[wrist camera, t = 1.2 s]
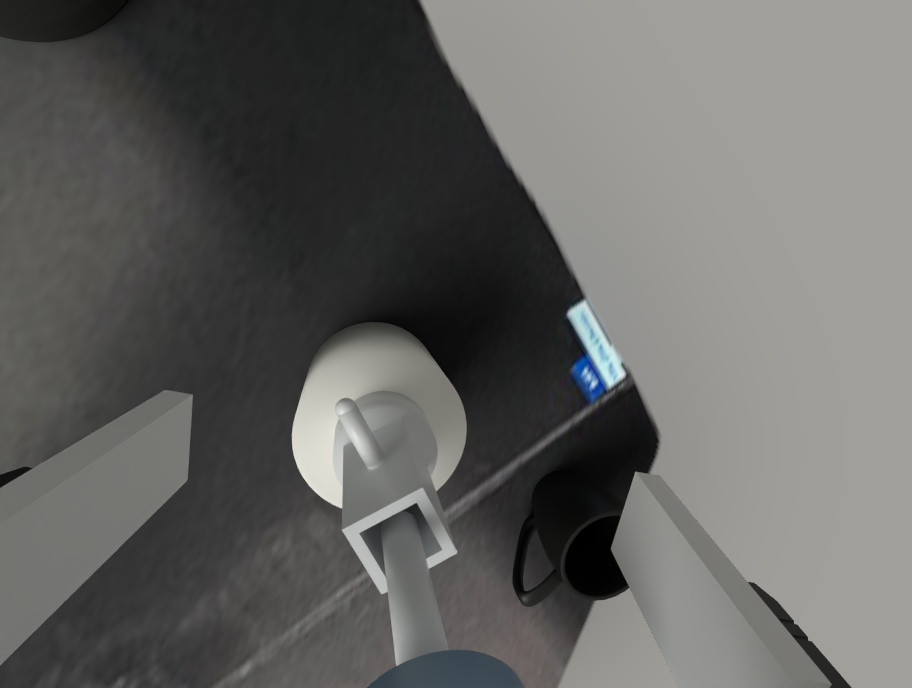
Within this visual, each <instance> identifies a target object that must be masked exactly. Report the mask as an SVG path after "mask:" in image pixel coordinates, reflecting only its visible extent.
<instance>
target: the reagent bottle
mask: <svg viewBox="0 0 912 688" xmlns="http://www.w3.org/2000/svg"><path fill="white" fill-rule="evenodd" d="M466 427H467V426H466V416H465V412H464V408H463V405H462V402H461V399H460V397H459V395H458V393H457V392H456V390H455V388H454V387H453V385H452V384H451V382H450V381H449V380H448V378H447V377H446V375H445V374H444V373H443V371H442V370H441V368H440V367H439V366H438V364H437V363H436V362H435V360H434V359H433V357H432V356H431V355H430V353H429V352H428V350H427V349H426V348H425V346H424V345H423V344H422V343H421V342H420V341H419V340H418V339H417V338H416V337H415V336H414V335H412V334H411V333H410V332H408V331H406V330H404V329H403V328H400V327H398V326H395V325H392V324H388V323H382V322H365V323H359V324H355V325H352V326H349V327H347V328H344V329H342V330H340V331H339V332H337V333H335V334H334V335H333V336H331V337H330V338H329V339H328V340H327V341H326V342H324V343H323V344H322V346H321V347H320V348H319V350H318V351H317V352H316V354H315V356H314V358H313V359H312V362H311V364H310V367H309V370H308V374H307V377H306V381H305V384H304V387H303V391H302V394H301V398H300V401H299V405H298V408H297V412H296V415H295V419H294V423H293V430H292V448H293V453H294V458H295V461H296V463H297V466H298V469H299V471H300V472H301V474H302V476H303V478H304V479H305V481H306V482H307V483H308V485H309V486H310V487H311V488H312V489H313V490H314V491H315V492H316V493H317V494H318V495H319V496H321V497H322V498H323V499H325V500H326V501H328V502H330V503H331V504H333V505H335V506H337V507H340V508H342V531H343V532H344V534H345V536H346V537H347V539H348V541H349V542H350V544H351V545H352V547H353V549H354V550H355V552H356V554H357V555H358V557H359V558H360V560H361V562H362V563H363V565H364V567H365V568H366V570H367V571H368V573H369V575H370V576H371V578H372V580H373V581H374V583H375V584H376V586H377V588H378V589H379V591H380V593H381V594H384V593H385V592H387V591H388V589H387V580H386V571H385V563H384V554H383V546H382V537H381V525H382V522H383V521H384V520H385V519H387V518H389V517H391V516H392V515H394V514H396V513H398V512H400V511H405V512H408V513H410V514H412V515H413V516H414V517H415V518H416V520H417V524H418V528H419V532H420V536H421V540H422V544H423V548H424V552H425V556H426V560H427V564H428V568H431V567H433V566H435V565H436V564H438V563H440V562H442V561H444V560H445V559H447V558H449V557H451V556H453V555H455V554H456V553H457V550H456V547H455V544H454V541H453V538H452V536H451V533H450V530H449V527H448V524H447V521H446V519H445V516H444V513H443V510H442V507H441V504H440V501H439V499H438V496H437V493H436V491H437V490H438V489H439V488H440V487H441V486H442V485H443V484H444V483H445V482H446V481H447V480H448V478H449V477H450V476H451V475H452V473H453V471H454V470H455V468H456V467H457V465H458V462H459V460H460V458H461V456H462V452H463V449H464V446H465V440H466Z"/></svg>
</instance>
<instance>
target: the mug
mask: <svg viewBox="0 0 912 688" xmlns="http://www.w3.org/2000/svg"><path fill="white" fill-rule="evenodd" d="M624 506H625V503H623V502H622V501H621V500H620V499H619V498H618V497H617V496H615V495H614V494H613V493H611V492H610V491H608V490H607V489H605V488H603V487H602V486H600V485H598V484H596V483H594V482H592V481H590V480H587V479H585V478H583V477H580V476H578V475H575V474H573V473H571V472H568V471H556V472H553V473H550V474H548V475H546V476H545V477H544V478H542V479H541V480H540V481H539V483H538V484H537V485H536V487H535V489H534V491H533V494H532V507H533V510H534V513H532V514H531V515H530V516H528V517H527V519H526V520H525V521H524V523H523V525H522V528H521V531H520V535H519V540H518V545H517V550H516V555H515V561H514V567H513V587H514V590H515V592H516V595H517V596H518V598H519V600H520V602H521V603H522V604H523V605H524V606H527V607H531V606H534V605H536V604H538V603H540V602H541V601H543V600H544V599H546V598H547V597H548V596H550V595H551V594H552V593H553V592H554V591H556V590H557V589H558V588H559V587H560V586H561V585H562V584H563V583H564V584H565V586H566V587H567V588H568V590H569V591H571V592H572V593H573V594H575V595H576V596H578V597H581V598H583V599H586V600H594V601H596V600H605V599H608V598H612V597H615V596H617V595H618V594H620V593H622V592H624V591H626V590H627V589H628V588H629V585H628V583H627V581H626V579H625V577H624V575H623V573H622V571H621V569H620V567H619V565H618V563H617V561H616V559H615V557H614V555H613V553H612V551H611V546H612V543H613V540H614V537H615V534H616V531H617V528H618V525H619V522H620V519H621V515H622V512H623V509H624ZM537 530H538V534H539V537H540V540H541V542H542V545H543V547H544V550H545V552H546V554H547V557H548V559H549V561H550V562H551V564H552V566H553V567H554V570H553V571H552V573H551V574H550V575H549V576H548V577H547V578H546V579H545V580H544V581H543V582H542V583H541V584H539V585H538V586H537V587H535V588H534V589H532V590H530V591H524V587H523V571H524V564H525V558H526V553H527V548H528V545H529V542H530V539H531V537H532V535H533V534H534V533H535V531H537Z"/></svg>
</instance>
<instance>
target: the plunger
mask: <svg viewBox="0 0 912 688" xmlns="http://www.w3.org/2000/svg"><path fill="white" fill-rule="evenodd" d="M381 537H382V546H383V554H384V563H385V571H386V580H387V589H388V597H389V606H390V615H391V623H392V632H393V641H394V649H395V658H396V667H394V668H392V669H391V670H389V671H388V672H386V673H384V674H383V675H381V676H380V677H379V678H378V679H376V680H375V681H374V682H373V683H371V684H370V685H369V686H368V687H367V688H524V685H523V683H522V681H521V680H520V678H519V677H518V675H517V674H516V673H515V672H514V671H513V670H512V669H511V668H510V667H509V666H507V665H506V664H505V663H503V662H502V661H500V660H498V659H496V658H494V657H492V656H489V655H487V654H484V653H480V652H475V651H467V650H449V649H448V645H447V641H446V637H445V633H444V629H443V625H442V621H441V617H440V613H439V609H438V605H437V601H436V597H435V593H434V589H433V585H432V581H431V577H430V572H429V568H428V564H427V560H426V556H425V552H424V548H423V544H422V540H421V536H420V532H419V528H418V524H417V520H416V518H415V517H414V516H413V515H412V514H410V513H408V512H405V511H400V512H398V513H396V514H394V515H392V516H391V517H389V518H387V519H385V520H384V521H383V522H382V525H381Z"/></svg>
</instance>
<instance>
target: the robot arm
mask: <svg viewBox="0 0 912 688" xmlns="http://www.w3.org/2000/svg"><path fill="white" fill-rule="evenodd" d="M125 2H126V0H0V36H1V37H5V38H10V39H15V40H21V41H32V42H49V41H59V40H65V39H69V38H73V37H76V36H79V35H82V34H85V33H87V32H89V31H91V30H93V29H95V28H97V27H99V26H100V25H102V24H103V23H105V22H106V21H107V20H109V19H110V18H111V17H112V16H113V15H114V14H115V13H116V12H117V11H118V10H119V9H120V8H121V7H122V6H123V4H124V3H125ZM192 399H193V395H191V394H186V393H180V392H174V391H168V390H164V391H163V392H161V393H159V394H158V395H156V396H154V397H153V398H151V399H149V400H147V401H146V402H144V403H142V404H141V405H139V406H137V407H136V408H134V409H132V410H131V411H129V412H127V413H126V414H124V415H122V416H121V417H119V418H117V419H115V420H114V421H112V422H110V423H109V424H107V425H105V426H104V427H102V428H100V429H99V430H97V431H95V432H94V433H92V434H90V435H88V436H87V437H85V438H83V439H82V440H80V441H78V442H77V443H75V444H73V445H72V446H70V447H68V448H67V449H65V450H63V451H62V452H60V453H58V454H56V455H55V456H53V457H51V458H50V459H48V460H46V461H45V462H43V463H41V464H40V465H38V466H36V467H35V468H29V467H22V468H19V469H16V470H13V471H10V472H7V473H4V474H1V475H0V665H1V664H2V663H3V662H4V661H5V660H6V659H7V658H8V657H9V656H10V655H11V654H12V653H13V652H14V651H15V650H16V649H17V648H18V647H19V646H20V645H21V644H22V643H23V642H24V641H25V640H26V639H27V638H28V637H29V636H30V635H31V634H32V633H33V632H34V631H35V630H36V629H37V628H38V627H39V626H40V625H41V624H42V623H43V622H44V621H45V620H46V619H48V618H49V617H50V616H51V615H52V614H53V613H54V612H55V611H56V610H57V609H58V608H59V607H60V606H61V605H62V604H63V603H64V602H65V601H66V600H67V599H68V598H69V597H70V596H71V595H72V594H73V593H74V592H75V591H76V590H77V589H78V588H79V587H80V586H81V585H82V584H83V583H84V582H85V581H86V580H87V579H88V578H89V577H90V576H91V575H92V574H93V573H94V572H95V571H96V570H97V569H98V568H99V567H100V566H101V565H102V564H103V563H104V562H105V561H106V560H107V559H108V558H109V557H110V556H111V555H112V554H113V553H114V552H115V551H116V550H117V549H118V548H119V547H120V546H121V545H122V544H123V543H124V542H125V541H126V540H127V539H128V538H129V537H130V536H132V535H133V534H134V533H135V532H136V531H137V530H138V529H139V528H140V527H141V526H142V525H143V524H144V523H145V522H146V521H147V520H148V519H149V518H150V517H151V516H152V515H153V514H154V513H155V512H156V511H157V510H158V509H159V508H160V507H161V506H162V505H163V504H164V503H165V502H166V501H167V500H168V499H169V498H170V497H171V496H172V495H173V494H174V493H175V492H176V491H177V490H178V489H179V488H180V487H181V486H182V485H183V484H184V483H185V482H186V481H187V480H188V464H189V448H190V431H191V415H192ZM611 551H612V553H613V555H614V557H615V559H616V561H617V563H618V565H619V567H620V569H621V571H622V573H623V575H624V577H625V579H626V581H627V583H628V585H629V588H630V590H631V592H632V593H633V596H634V598H635V599H636V602H637V604H638V606H639V608H640V610H641V612H642V614H643V616H644V618H645V620H646V622H647V624H648V626H649V628H650V630H651V632H652V634H653V636H654V638H655V640H656V642H657V645H658V646H659V649H660V651H661V653H662V655H663V656H664V659H665V661H666V663H667V665H668V667H669V669H670V671H671V673H672V675H673V677H674V679H675V681H676V683H677V685H678V687H679V688H851V687H850V685H849V684H848V683H847V682H846V681H845V680H844V679H843V677H842V676H841V675H840V674H839V673H838V672H837V670H836V669H835V668H834V667H833V666H832V665H831V664H830V662H829V661H828V660H827V659H826V658H825V656H824V655H823V654H822V653H821V652H820V651H819V649H818V648H817V647H816V646H815V645H814V644H813V643H812V642H811V641H808V637H807V636H806V634H805V633H804V632H803V631H802V630H801V629H800V628H799V626H798V625H796V624H794V620H793V619H792V618H791V617H790V616H789V615H788V614H787V612H786V611H785V610H784V609H783V608H782V607H781V605H780V604H779V603H778V602H777V601H776V600H775V599H774V598H772V597H771V596H770V595H769V594H767V593H766V592H765V591H764V590H762V589H761V588H760V587H759V586H757V585H756V584H755V583H751V582H747V581H746V580H745V579H744V577H743V576H742V575H741V574H740V572H739V571H738V570H737V569H736V567H735V566H734V565H733V564H732V563H731V562H730V560H729V559H728V558H727V557H726V555H725V554H724V553H723V552H722V551H721V550H720V548H719V547H718V546H717V544H716V543H715V542H714V541H713V540H712V538H711V537H710V536H709V535H708V534H707V533H706V531H705V530H704V529H703V528H702V527H701V525H700V524H699V523H698V521H697V520H696V519H695V518H694V517H693V516H692V514H691V513H690V512H689V511H688V509H687V508H686V507H685V506H684V505H683V503H682V502H681V501H680V500H679V499H678V497H677V496H676V495H675V494H674V492H673V491H672V490H671V489H670V488H669V486H668V485H667V484H666V483H665V482H664V480H663V479H662V478H661V477H660V476H657V475H652V474H646V473H640V472H635V475H634V478H633V481H632V484H631V487H630V491H629V494H628V497H627V500H626V503H625V506H624V509H623V512H622V515H621V519H620V522H619V525H618V528H617V531H616V534H615V537H614V540H613V543H612V546H611Z"/></svg>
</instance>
